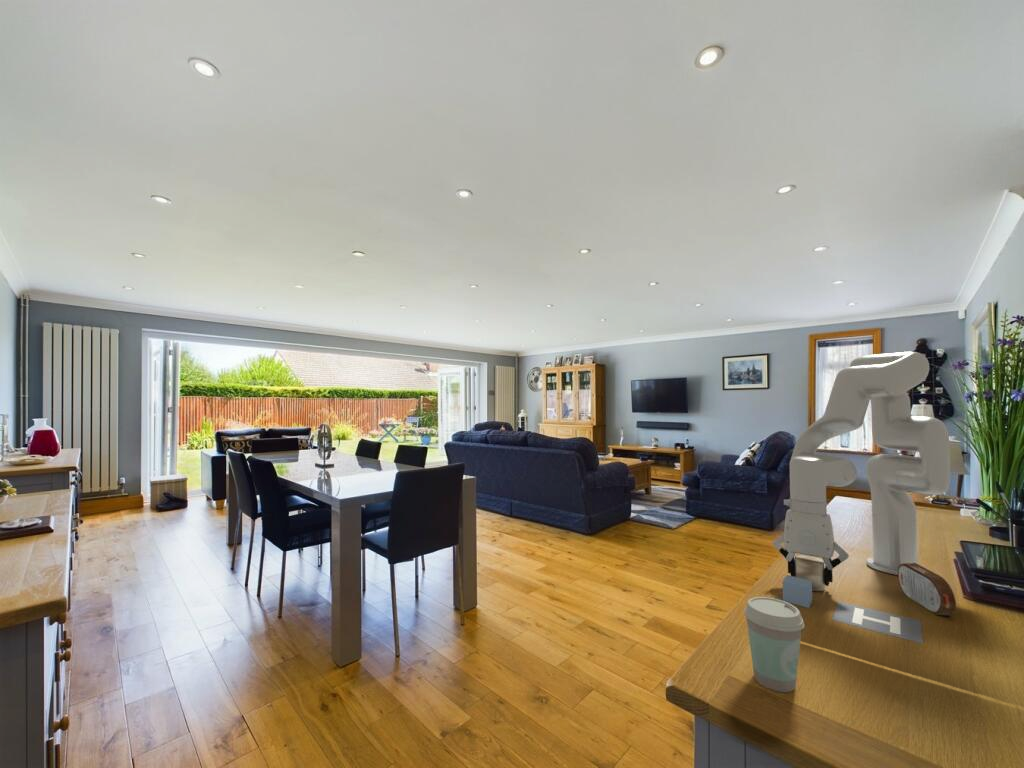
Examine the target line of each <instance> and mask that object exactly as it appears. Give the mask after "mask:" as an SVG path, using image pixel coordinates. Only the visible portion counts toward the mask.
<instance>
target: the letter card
mask: <svg viewBox="0 0 1024 768" xmlns="http://www.w3.org/2000/svg"><path fill="white" fill-rule="evenodd" d="M832 621H834V622H838V623H840V624H841V623H842V624H846V625H850V626H853V627H857V628H861V629H864V630H869V631H873V632H876V633H879V634H883V635H886V636H887V635H888V636H892V637H895V638H900V639H903V640H907V641H911V642H915V643H918V644H924V641H923V632H922V622H921V619H919V620H918V619H915V618H910V617H907V616H902V615H899V614H894V613H890V612H885V611H883V610H882V611H881V610H877V609H873V608H868V607H864V606H860V605H856V604H852V603H848V602H843V601H839V600H838V601H837V603H836V606H835V609H834V612H833V616H832Z"/></svg>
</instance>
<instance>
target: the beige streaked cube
mask: <svg viewBox="0 0 1024 768" xmlns="http://www.w3.org/2000/svg"><path fill="white" fill-rule="evenodd" d="M794 559H795V577H798V578H803V579H807V580H812V592H823V591H824V592H825V590H826V585H825V584H824V569H825V563H824V561H823V559H822V558H821V559H820V558H819V557H814V556H809V555H796V556H794Z"/></svg>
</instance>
